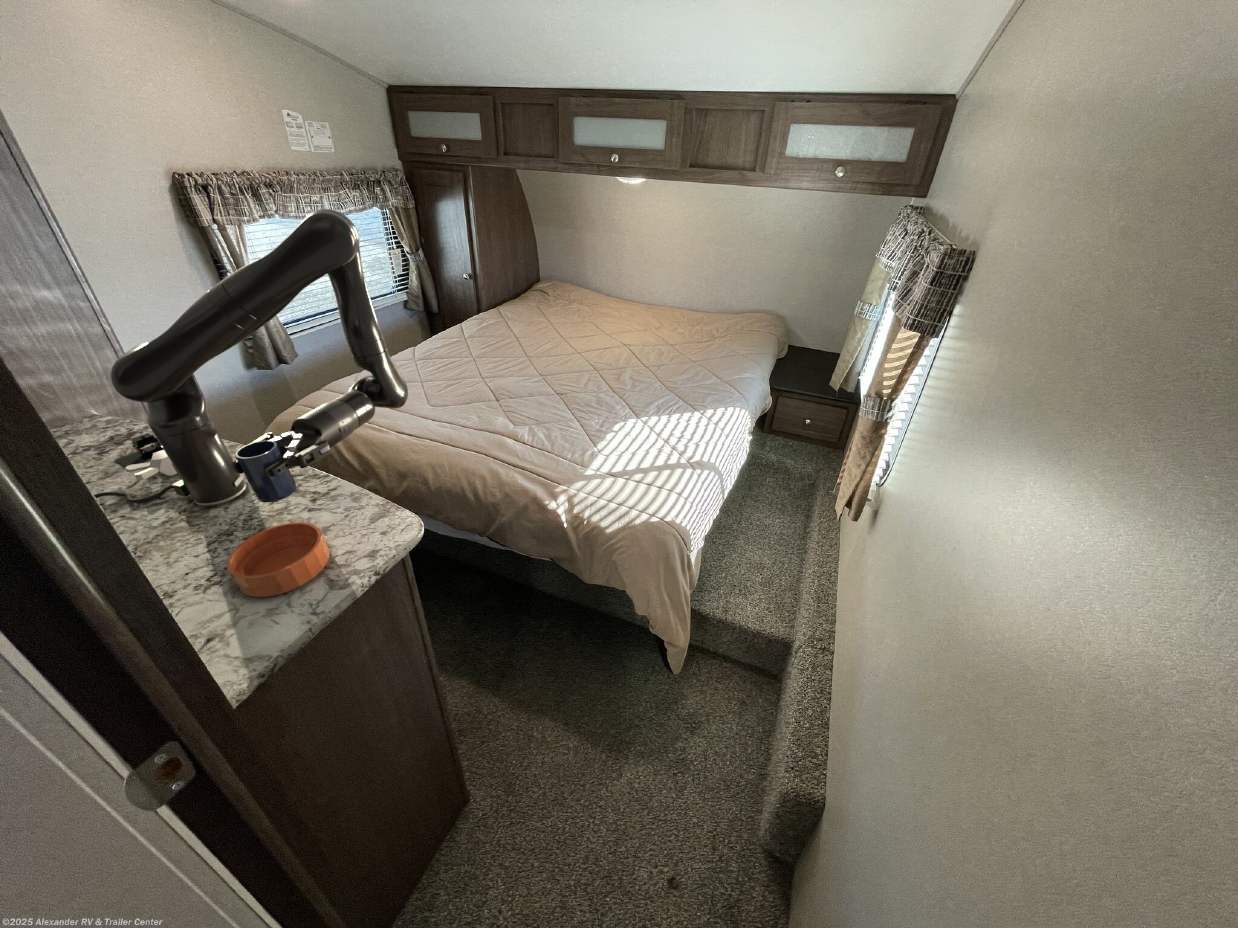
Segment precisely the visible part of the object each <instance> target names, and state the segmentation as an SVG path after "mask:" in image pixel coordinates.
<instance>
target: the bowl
mask: <svg viewBox="0 0 1238 928" xmlns="http://www.w3.org/2000/svg"><path fill="white" fill-rule="evenodd" d="M330 555H331V550H330V548H329V546H328V544H327V542H326V539H325V538H324V535H323V533H322V530H321V528H320V527H318V525H315V524H314V523H312V522H311V523H310V522H306V521H291V522H285V523H282V524H281V523H280V524H276V525H273V526H271V527H268V528H265V529H262V530H261V531H259V532H256V533H254V534H253V535H251V536H249V537H247V538H246V539H245V540H243V541H242V542H241V543H239V544H238V545H237V546H236V547H235V548H234V549H233V550H232V552H231V553H230V554H229V556H228V558H227V560H226V571H227V572H228V574H229V575H230V577H231V579H232V580H233V582H234V583H235V586H236V587H237V588H238V590H239V591H241V593H242V594H244V595H246V596H250V597H254V598H266V597H274V596H276V595H281V594H284V593H287V592H290V591H292V590H294V589H297V588H299V587H301V586H303V585H304V584H306V583H307V582H310V581H311V580H313V579H314V578H315V577H316V576H317V575H318V574H319V573H321V572H322V571H323V569H324V568H325V567H326V565H327V564H328V562H329V560H330Z"/></svg>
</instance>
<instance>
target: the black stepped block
mask: <svg viewBox="0 0 1238 928" xmlns="http://www.w3.org/2000/svg"><path fill="white" fill-rule="evenodd" d="M130 441H131V445H132V446H131V447H132V448H134V450H135V451H134V452H131V453H129V454H126V455H123V456H121V457H118V458H115V459H114V462H117V463H118V464H120V465H122V466H124V467H125V468H126V467H127V466H128V465H134V464H141V463H146V462H147V461H149V460H150V461H151V459H152V456H153V453H156V452H158V451H161V450H164V449H163V448H162V446H161V445H160V443H159V441H158V440H157V438H156V436H155V435H154V434H151V433H150V432H146V433H143V434H141V435H138V436H135V437H132V438H130ZM146 446H147V447H146Z"/></svg>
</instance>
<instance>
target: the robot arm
mask: <svg viewBox="0 0 1238 928" xmlns="http://www.w3.org/2000/svg"><path fill="white" fill-rule="evenodd" d="M326 275H327V277H328V279H329V281H330V284H331V287H332V290H333V292H334V293H333V294H334V296H335V301H336V304H337V305H336V306H337V308H338V315H339V319H340V323H341V327H342V330H343V331H342V332H343V334H344V337H345V340H346V344H347V347H348V349H349V351H350V355H351V357H352V360H353V363H354V364H355V366H356V367H358V368H359V369H361V370H364V371H366V372H368V373H369V375H365V376H363V377H360V378H359V379H357V380H356V381H355V382H354V383H353V384H352V385H351V386H350V387H349V388H348V389H347V391H346V392H345V393H343V394H342V395H340V396H338V397H336V398H335V399H334V398H333V399H332V400H330V401H328V402H325V403H323V404H321V405H319V406H317V407H316V408H314V409H312V410H310V411H308V412H306V413H304V414H303V415H301V416H299V417H297V418H295V419H294V420H293V421H292V424H291V427H290V430H289V431H287V432H284V433H282V434H279V436H278V435H277V436H276V435H274V433H273V432H272V431H268V432H265V433H264V434H263V435H261V436H259V437H258V438H257V439H254V440H253V441H251V442H250V443H249V444H251V443H253V442H258V441H264V440H271V441H275V442H276V443H277V444H278V446H279V449H280V451H281V453H282V455H283V457H284V458H282V457H280V458H279V459H277V460H276V461H274V462H272V463H271V464H269V465H267V466H266V467H264V468H263V472H264V474H265V476H266V478H268V479H274V478H275V477H277V476H278V475H280V474H281V473H283V472H285V471H286V470H288V469H289V470H293V469H296V468H297V467H300V469H306V468H308V467H310V466H312V465H313V464H315V463H316V462H318V461H321V460H322V459H324V458H326V457H327V456H329V455H331V454H332V451H331V448H333V447H334V446H336V445H337V444H339V443H340V442H342V441H344V440H345V439H346V438H348V437H349V436H350V435H351V434H353V432H355V431H356V430H357V429H359V428H360V427H362V426H364V425H365V424H366V423H368V422H370V421H371V419H373V417H374V416H375V414H376V408H381V409H382V408H383V409H393V410H394V409H395V410H396V409H400V408H402V407H403V406H405V404H407V401H408V397H409V388H408V385H407V382H406V380H405V378H404V376H403V374H402V373H401V371H400V370H399V368H398V366H397V365H396V363H395V362H394V360H393V359H392V357H391V355H390V354H389V351H388V346H387V343H386V341H385V338H384V334H383V332H382V328H381V326H380V322H379V320H378V316H377V314H376V310H375V308H374V305H373V302H372V299H371V296H370V293H369V289H368V285H367V282H366V278H365V274H364V269H363V263H362V256H361V249H360V235H359V232H358V229H357V227H356V226H355V224H354V223H353V221H351V219H350V218H349V217H347V215H345V214H343V213H342V212H340V211H337V210H335V209H331V208H322V209H318V210H314V211H312V212H310V214H308V215H306V216H305V218H304V219H303V220H302V221H301V222H300V223H299V224H298V226H296V228H295V229H294V230H293V231H292V232H291V233H290V234H288V236H287V237H286V238H285V239H283V240H282V241H281V242H280V243H279V244H278V245H276V247H275V248H273V249H272V250H271V251H270V252H268V253H267V254H265V255H263V256H262V257H260V258H258V259H256V260H253V261H252V262H250V263H247V264H246V265H244V266H242V267H240V268H238V269H237V270H235V271H234V272H231V273H230V274H229V275H227V276H226V277H224V278H222V279H221V280H220V281H219V282H218V283H216V284H215V285H214V286H212V287H210V288H209V289H208V290H207V291H206V292H205V293H203V295H201V297H199V298H198V299H197V300H196V301H194V303H192V305H190V306H189V307H187V309H186V310H185V311H184V312H183V313H182V314H181V316H179V318H177V320H175V322H174V323H173V324H172V325H171V326H169V328H167V329H166V330H165V331H164V332H162V333H161V334H160V335H158V336H157V337H155V338H154V339H152V340H151V341H149V342H143V343H141V344H138V345H135V346H133V347H132V348H131V349H129V350H128V351H126V352H125V353H124V354H122V355H121V356H119V357H118V358H117V359H116V360H115V361H114V363H113V365H112V366H111V369H110V374H109V376H110V377H109V378H110V382H111V385H112V387H113V389H114V390H115V391H116V392H117V393H118V394H119V395H121V396H122V397H124V398H125V399H127V400H130V401H133V402H136V403H137V402H138V403H146V405H147V425H148V426H149V428H150V430H151V432H152V433H153V436H154V437H156V438H157V440H158V441H159V443H160V445H161V446H162V448H163V449H164V451H165V453H166V454H167V456H168V458H169V459H170V461H171V464H172V466H173V467H174V469H175V471H176V472H177V474H176V475H177V476H178V478H179V480H177V481H176V482H174V483H173V484H170V485H168V486H165V487H164V488H162V489H160V491H159V492H157V493H155V494H152V495H150V496H147V497H142V498H133V496H132V495H131V494H130V493H128V492H121V491H105V492H104V491H102V492H98V493H95V494H93V495H94V496H95V497H96V498H97V499H99V498H101V497H108V496H109V497H111V496H112V497H122V498H123V497H124V498H126V500H127V502H128V503H131V504H139V503H145V502H149V501H153V500H156V499H157V498H160V497H162V496H163V495H165V494H166V493H167V492H169V491H171V490H172V489H173V490H174V491H175V493H176V495H177V496H179V497H184V498H187V497H189V496H190V497H191V499H192V500H193V502H194V504H195V505H196V506H197V507H200V508H213V507H214V508H215V507H217V506H221V505H225V504H228V503H230V502H232V501H234V500H236V499H238V498H240V497H241V496H242V495H243V494H244V493H245V492H246V491H247V489H248V485H247V484H246V482H245V480H244V479H245V477H244V472H243V470H242V468H241V467H240V465H239V463H238V461H237V459H236V460H234V459H233V457H232V456H231V454H230V452H229V450H228V448H227V447H226V445H225V443H224V441H223V439H222V437H221V435H220V434H219V432H218V430H217V429H218V428H216V426H215V424H214V422H213V420H212V418H211V416H210V414H209V411H208V406H207V401H206V398H205V395H204V393H203V391H202V389H201V386H200V384H199V383H198V379H197V378H196V376H195V374H194V373H196V372H197V371H198V370H199V369H201V367H202V366H204V365H205V364H207V363H208V362H209V361H211V360H213V359H214V358H216V357H218V356H220V355H222V354H223V353H225V352H226V351H227V350H230V349H232V348H233V347H235V346H236V345H238V344H239V343H241V342H243V341H244V340H245V339H247V338H248V337H250V336H252V335H253V334H254V333H256V332H258V331H259V330H260V329H261V328H263V327H264V326H265V325H267V324H268V323H269V322H271V321H272V320H273V319H274V318H276V316H278V315H279V314H280V313H281V312H282V311H283V310H284V309H285V308H286V307H287V306H289V305H290V304H291V302H293V300H294V299H296V297H298V295H299V294H300V293H301V292H302V291H303V290H305V289H306V288H308V287H309V286H310V285H311V284H313V283H315V282H316V281H318V280H320V279H321V278H324V276H326ZM308 456H309V458H308ZM306 458H308V459H306Z"/></svg>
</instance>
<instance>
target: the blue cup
mask: <svg viewBox="0 0 1238 928" xmlns="http://www.w3.org/2000/svg"><path fill="white" fill-rule="evenodd" d="M252 442H253V441H252ZM252 442H250V443H251V444H250V443H248V444H246V445H244V446H242V447H240V448H238V449H237V450H236V451H235V454H234V457H235V459H236V460H237V461H238V463H239V465H240V467H241V468H242V470H243V472H244V473H243V475H244V476H245V477H246V481H247V482H248V484H249V486H250V488H251V489H252V492H253V494H254V496H255V497H256V499H257V500H258V501H259V502H261V503H275V502H278V501H282V500H284V499H287V498H288V497H290V496H291V495H294V493H295V492H296V490H297V483H296V481H295V479H294V477H293V475H292V472H291V471H290V470H291V469H290V468H289V469H288V470H286V471H285V472H283V473H281V474H280V475H278V476H277V477H275V478H274V479H268V478H266V476H265V474H264V472H263V468H264V467H266V466H267V465H269V464H271V463H272V462H274V461H276V460H277V459H279V458H280V457H282V458H284V457H283V455H282V453H281V451H280V449H279V446H278V444H277V443H276V442H275V441H271V440H264V441H258V442H253V443H252Z"/></svg>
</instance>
